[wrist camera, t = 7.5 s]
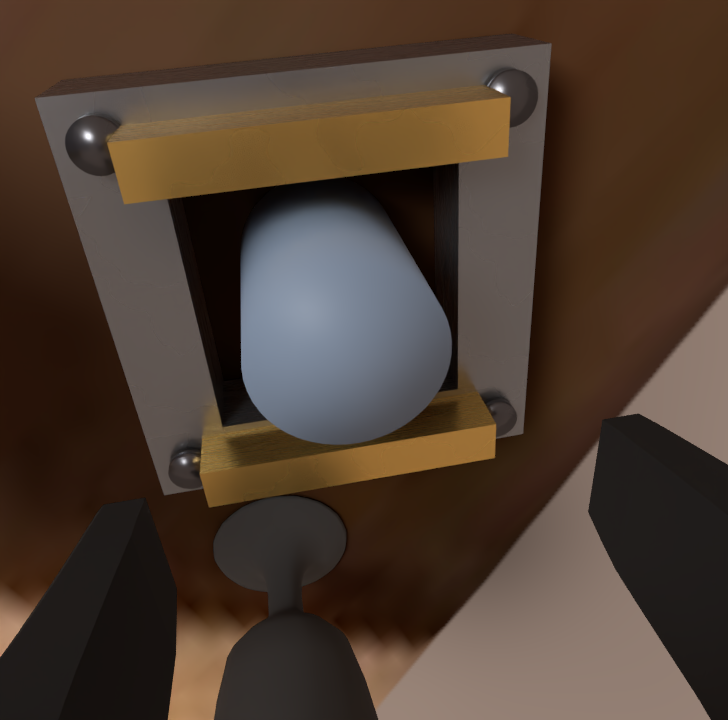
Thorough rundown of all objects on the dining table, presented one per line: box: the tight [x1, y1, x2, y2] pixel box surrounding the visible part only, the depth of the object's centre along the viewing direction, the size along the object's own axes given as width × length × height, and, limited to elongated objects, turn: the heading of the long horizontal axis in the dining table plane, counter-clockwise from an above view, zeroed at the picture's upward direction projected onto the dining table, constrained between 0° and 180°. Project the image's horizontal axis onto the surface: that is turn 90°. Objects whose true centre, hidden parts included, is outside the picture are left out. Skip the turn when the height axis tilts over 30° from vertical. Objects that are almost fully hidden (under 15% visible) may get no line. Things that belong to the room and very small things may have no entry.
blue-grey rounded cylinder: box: [240, 177, 452, 445], centre depth 16 cm, size 4×4×6 cm
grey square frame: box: [35, 34, 551, 508], centre depth 17 cm, size 11×11×4 cm
